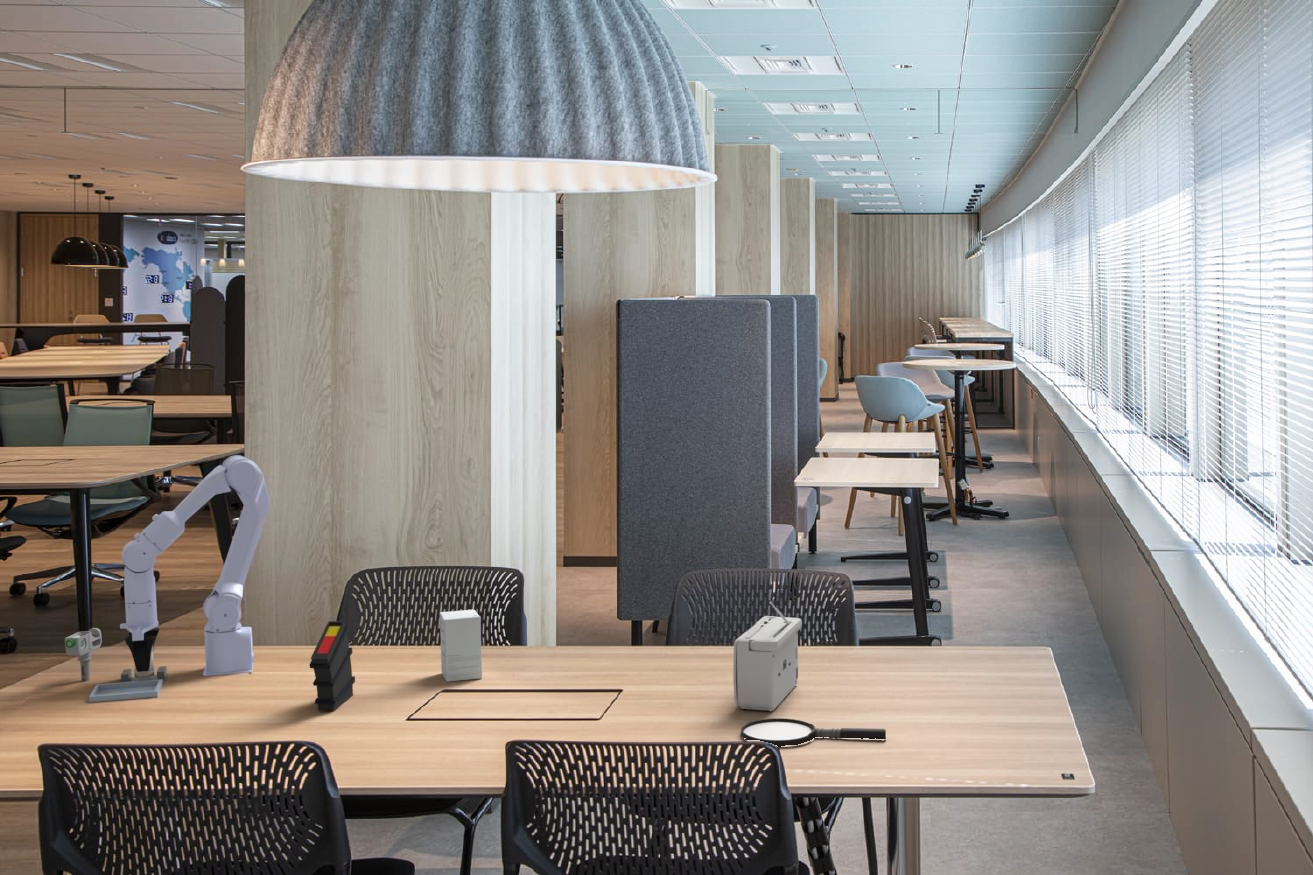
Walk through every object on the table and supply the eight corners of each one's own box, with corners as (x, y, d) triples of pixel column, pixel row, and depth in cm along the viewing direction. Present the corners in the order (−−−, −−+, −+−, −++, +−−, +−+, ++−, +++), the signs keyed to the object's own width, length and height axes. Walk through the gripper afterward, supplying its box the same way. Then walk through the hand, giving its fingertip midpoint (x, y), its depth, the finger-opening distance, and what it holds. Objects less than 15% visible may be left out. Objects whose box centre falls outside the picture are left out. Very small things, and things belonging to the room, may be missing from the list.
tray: (162, 686, 251) (162, 679, 251) (157, 699, 242) (157, 691, 242) (96, 691, 248) (96, 684, 248) (89, 704, 239) (88, 696, 239)
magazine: (360, 682, 246) (346, 620, 238) (340, 730, 235) (325, 666, 227) (341, 681, 246) (327, 619, 239) (320, 729, 235) (304, 666, 227)
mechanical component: (106, 675, 260) (103, 626, 259) (78, 689, 250) (76, 638, 249) (92, 675, 260) (89, 626, 259) (64, 689, 250) (61, 638, 249)
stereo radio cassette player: (762, 681, 249) (761, 579, 247) (803, 684, 246) (803, 581, 245) (732, 711, 229) (731, 601, 228) (776, 715, 227) (776, 603, 225)
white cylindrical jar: (155, 672, 257) (154, 642, 257) (153, 676, 254) (151, 647, 253) (135, 673, 256) (134, 644, 256) (133, 678, 253) (131, 648, 252)
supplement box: (477, 669, 260) (475, 608, 259) (482, 679, 253) (481, 616, 252) (440, 673, 258) (439, 611, 257) (445, 682, 251) (443, 618, 250)
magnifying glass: (886, 753, 206) (886, 740, 206) (737, 750, 210) (737, 737, 210) (885, 730, 218) (885, 717, 218) (744, 727, 222) (744, 715, 222)
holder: (168, 676, 259) (167, 665, 259) (165, 682, 254) (165, 671, 254) (123, 679, 257) (123, 668, 256) (119, 686, 252) (119, 675, 251)
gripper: (124, 595, 260) (127, 661, 261) (113, 609, 246) (117, 679, 247) (161, 592, 262) (164, 658, 263) (152, 607, 248) (156, 676, 249)
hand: (144, 668), depth 255 cm, fingers closed on white cylindrical jar, 4 cm apart
